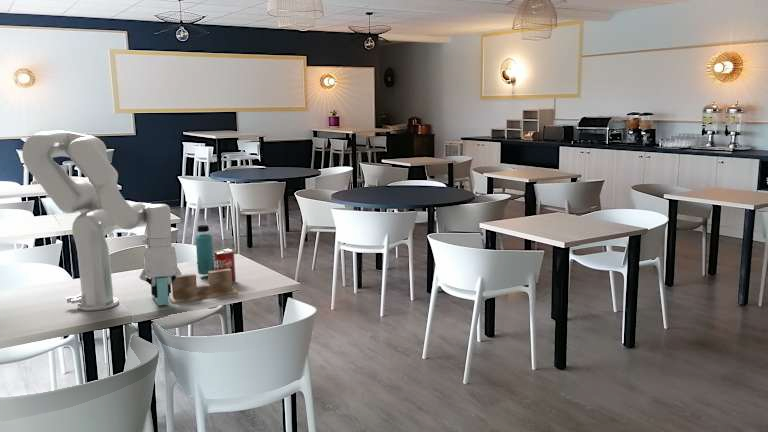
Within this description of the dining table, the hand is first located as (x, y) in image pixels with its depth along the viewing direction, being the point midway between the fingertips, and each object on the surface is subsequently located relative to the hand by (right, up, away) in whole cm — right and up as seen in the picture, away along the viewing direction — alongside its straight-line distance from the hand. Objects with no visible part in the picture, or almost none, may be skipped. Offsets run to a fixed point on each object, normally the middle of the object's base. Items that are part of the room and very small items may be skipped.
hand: (161, 295), depth 220 cm
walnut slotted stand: (+11, -1, +10) cm, 15 cm away
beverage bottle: (+6, +3, +35) cm, 36 cm away
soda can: (+15, +1, +26) cm, 30 cm away
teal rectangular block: (-2, -2, +4) cm, 5 cm away
